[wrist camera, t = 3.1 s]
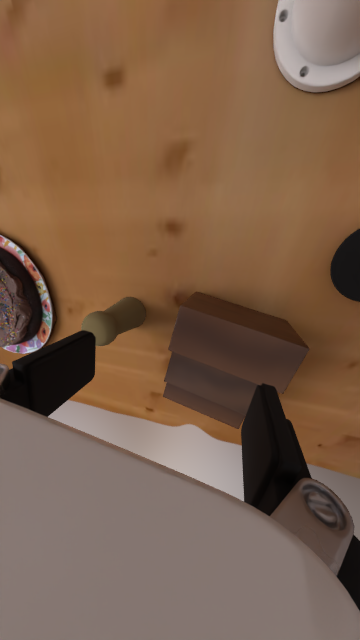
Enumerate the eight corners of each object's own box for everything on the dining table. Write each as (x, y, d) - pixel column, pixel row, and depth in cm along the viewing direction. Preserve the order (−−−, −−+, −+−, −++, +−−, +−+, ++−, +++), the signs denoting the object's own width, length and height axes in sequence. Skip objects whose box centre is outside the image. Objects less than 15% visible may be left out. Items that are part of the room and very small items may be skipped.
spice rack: (238, 416, 37) (239, 468, 28) (167, 387, 40) (147, 425, 31) (287, 320, 30) (310, 348, 21) (196, 291, 32) (180, 304, 23)
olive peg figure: (146, 299, 35) (111, 316, 25) (144, 330, 37) (111, 356, 27) (117, 294, 36) (72, 308, 26) (117, 323, 38) (75, 347, 28)
